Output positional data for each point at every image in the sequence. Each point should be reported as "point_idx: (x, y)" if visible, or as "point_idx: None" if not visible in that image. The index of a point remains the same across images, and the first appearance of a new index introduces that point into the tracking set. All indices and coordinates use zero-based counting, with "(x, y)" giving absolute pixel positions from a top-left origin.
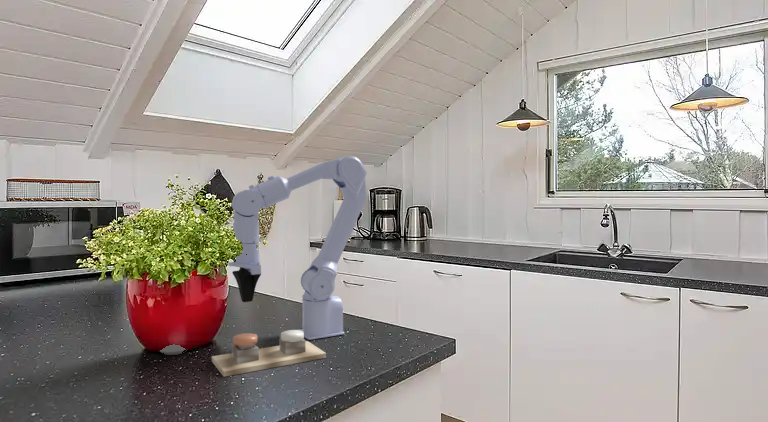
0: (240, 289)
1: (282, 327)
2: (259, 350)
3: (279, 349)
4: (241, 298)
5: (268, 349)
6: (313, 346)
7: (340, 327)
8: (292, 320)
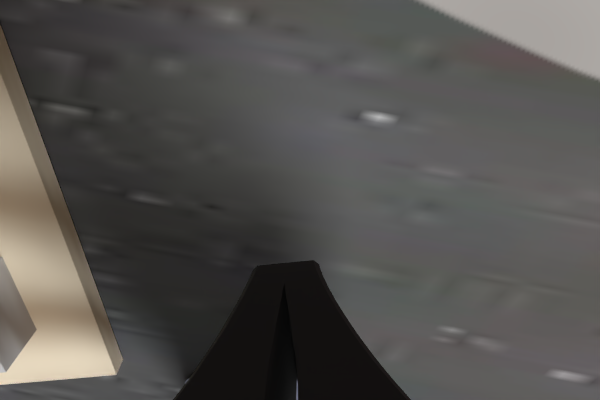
0: (262, 352)
1: (442, 335)
2: (8, 172)
3: (7, 257)
4: (295, 274)
5: (18, 214)
6: (26, 375)
7: None
8: (525, 387)
